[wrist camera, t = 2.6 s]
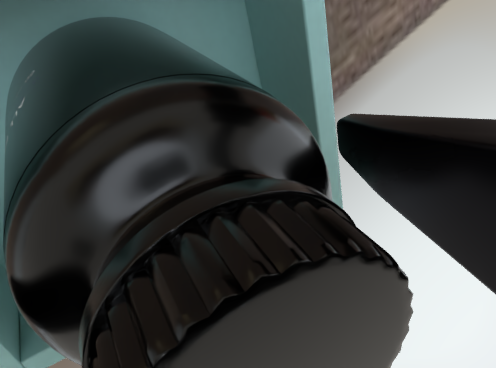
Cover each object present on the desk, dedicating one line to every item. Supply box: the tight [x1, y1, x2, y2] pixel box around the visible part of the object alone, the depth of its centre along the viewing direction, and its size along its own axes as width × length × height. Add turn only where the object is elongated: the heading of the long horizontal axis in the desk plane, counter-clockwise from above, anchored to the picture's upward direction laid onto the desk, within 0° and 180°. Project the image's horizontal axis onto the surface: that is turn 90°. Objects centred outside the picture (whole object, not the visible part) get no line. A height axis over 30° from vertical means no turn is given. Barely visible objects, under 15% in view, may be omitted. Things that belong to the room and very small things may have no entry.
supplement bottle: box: [3, 17, 413, 368], centre depth 10 cm, size 7×7×12 cm
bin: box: [0, 0, 343, 368], centre depth 13 cm, size 14×12×4 cm
